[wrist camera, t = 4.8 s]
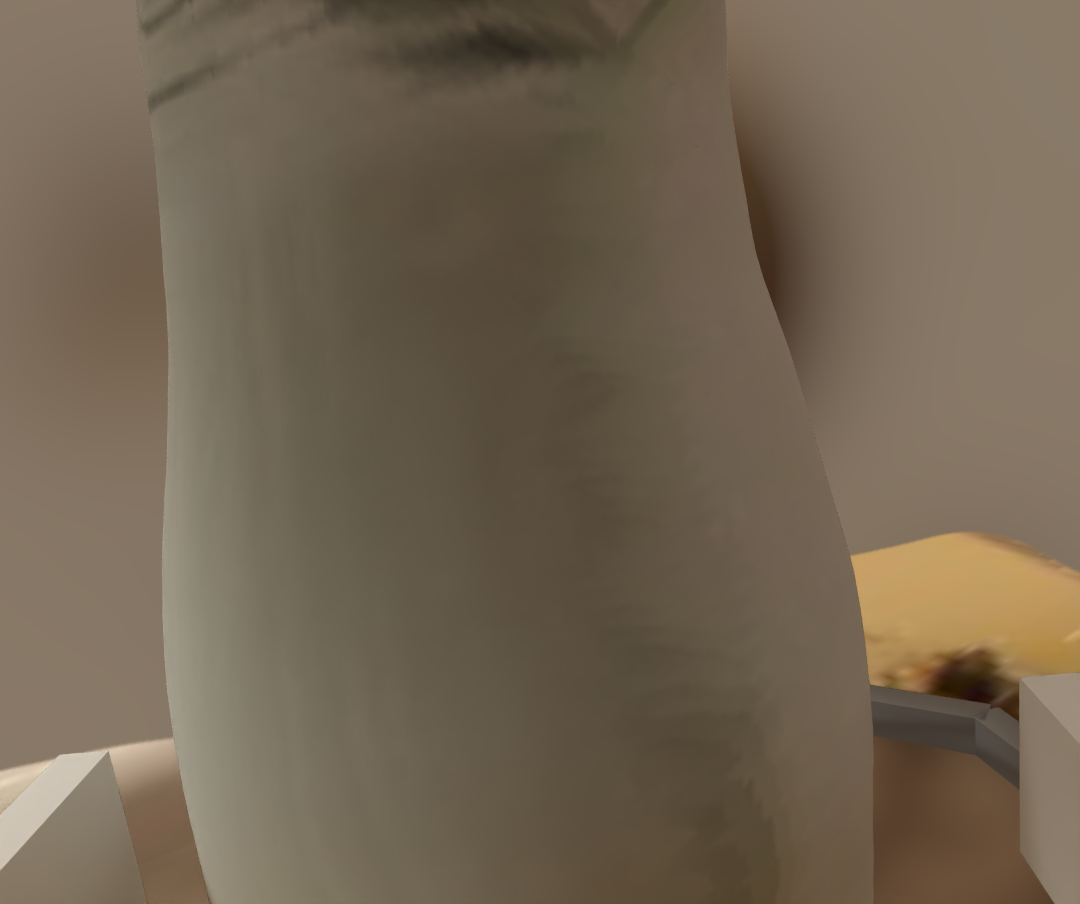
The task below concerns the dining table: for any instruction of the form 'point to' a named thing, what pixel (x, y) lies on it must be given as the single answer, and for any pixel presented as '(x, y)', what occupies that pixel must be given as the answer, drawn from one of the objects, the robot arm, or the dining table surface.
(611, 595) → the glass bottle
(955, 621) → the dining table surface
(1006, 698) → the dining table surface
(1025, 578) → the dining table surface
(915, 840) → the socket board
